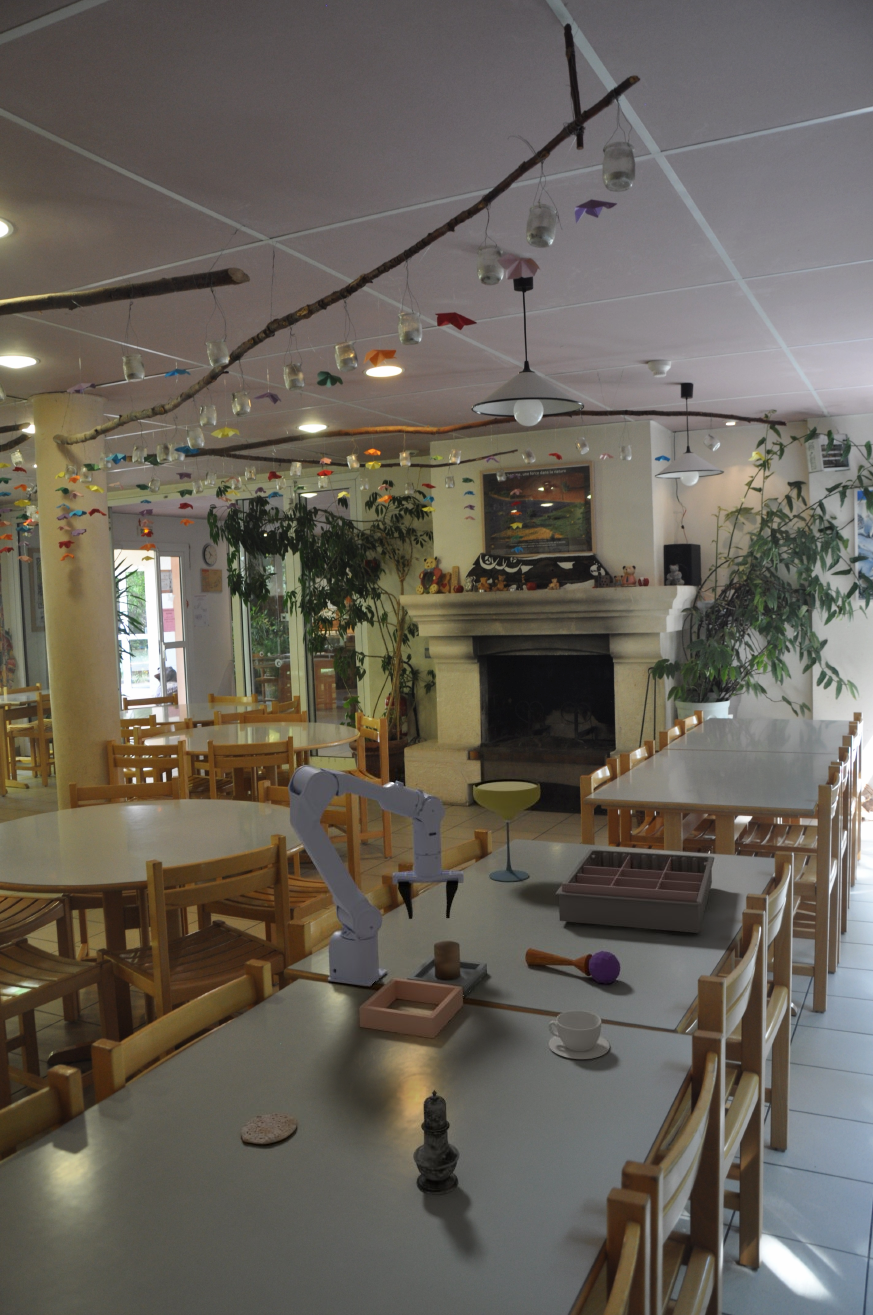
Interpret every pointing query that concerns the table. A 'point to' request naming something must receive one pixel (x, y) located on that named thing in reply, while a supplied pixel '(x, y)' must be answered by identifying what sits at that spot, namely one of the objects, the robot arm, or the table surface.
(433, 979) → the tray
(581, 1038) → the teacup
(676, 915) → the organizer tray
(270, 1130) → the flatbread
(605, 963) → the kendama
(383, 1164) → the table surface
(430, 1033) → the holder
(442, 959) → the brown rounded cylinder
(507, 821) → the cocktail glass
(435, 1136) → the salt shaker
